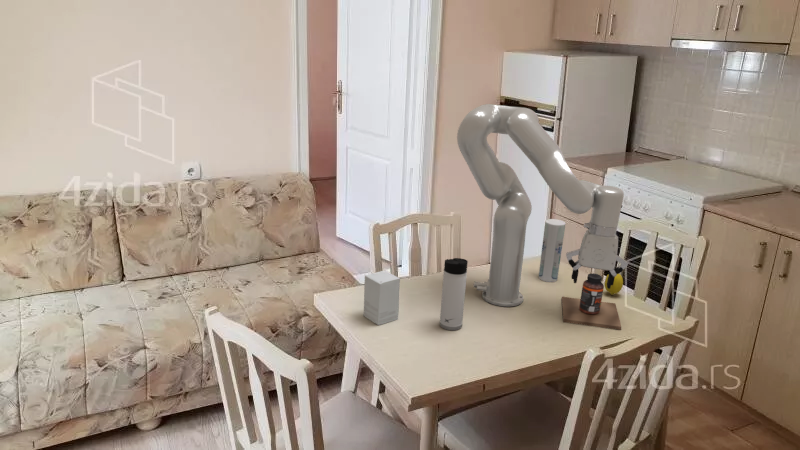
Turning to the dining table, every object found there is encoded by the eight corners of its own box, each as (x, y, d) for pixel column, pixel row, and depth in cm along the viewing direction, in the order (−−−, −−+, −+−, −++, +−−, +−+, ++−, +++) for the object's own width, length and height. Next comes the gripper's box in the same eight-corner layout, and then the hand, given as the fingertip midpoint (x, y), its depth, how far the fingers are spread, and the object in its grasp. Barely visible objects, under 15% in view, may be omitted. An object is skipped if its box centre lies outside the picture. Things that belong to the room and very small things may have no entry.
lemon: (621, 299, 202) (625, 275, 199) (603, 297, 203) (607, 273, 200) (619, 292, 207) (623, 269, 204) (602, 290, 208) (605, 267, 205)
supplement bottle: (596, 317, 186) (602, 281, 182) (576, 311, 189) (581, 276, 185) (602, 310, 191) (607, 275, 187) (582, 304, 194) (587, 270, 190)
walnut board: (563, 322, 184) (563, 319, 184) (561, 299, 199) (561, 296, 199) (620, 330, 181) (621, 326, 181) (614, 306, 196) (615, 303, 196)
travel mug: (447, 333, 174) (453, 265, 168) (435, 322, 180) (440, 256, 174) (466, 329, 177) (473, 261, 171) (454, 318, 183) (459, 253, 176)
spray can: (540, 273, 219) (547, 217, 212) (559, 277, 216) (567, 220, 210) (536, 279, 213) (543, 222, 207) (555, 283, 211) (563, 226, 204)
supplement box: (398, 319, 181) (401, 278, 177) (377, 326, 176) (379, 283, 172) (383, 309, 186) (385, 269, 182) (362, 315, 182) (363, 274, 178)
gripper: (572, 229, 180) (561, 284, 185) (635, 238, 177) (623, 294, 183) (570, 221, 187) (561, 274, 192) (632, 229, 184) (620, 284, 190)
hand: (591, 284), depth 187 cm, fingers open, 9 cm apart
